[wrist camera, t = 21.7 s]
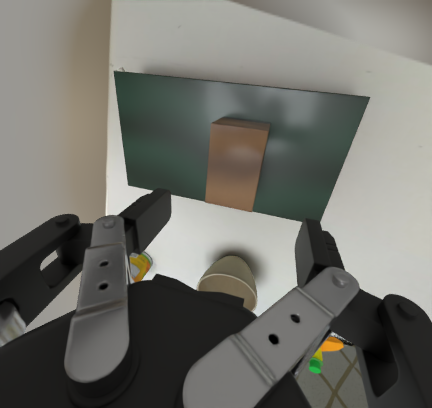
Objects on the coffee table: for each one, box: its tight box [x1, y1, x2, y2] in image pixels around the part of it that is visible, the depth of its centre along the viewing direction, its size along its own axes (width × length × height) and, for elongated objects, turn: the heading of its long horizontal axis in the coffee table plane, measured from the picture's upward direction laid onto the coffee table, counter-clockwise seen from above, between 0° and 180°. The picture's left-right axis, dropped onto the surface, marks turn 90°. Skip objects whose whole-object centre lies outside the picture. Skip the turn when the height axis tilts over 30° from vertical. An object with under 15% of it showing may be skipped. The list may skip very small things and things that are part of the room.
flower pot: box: [197, 256, 257, 312], centre depth 38 cm, size 10×10×7 cm
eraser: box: [205, 116, 271, 212], centre depth 22 cm, size 8×5×5 cm, turn 175°
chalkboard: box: [114, 71, 370, 222], centre depth 27 cm, size 14×26×6 cm, turn 85°
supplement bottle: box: [130, 252, 152, 283], centre depth 43 cm, size 5×5×10 cm
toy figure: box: [308, 337, 344, 373], centre depth 34 cm, size 7×4×12 cm, turn 113°
